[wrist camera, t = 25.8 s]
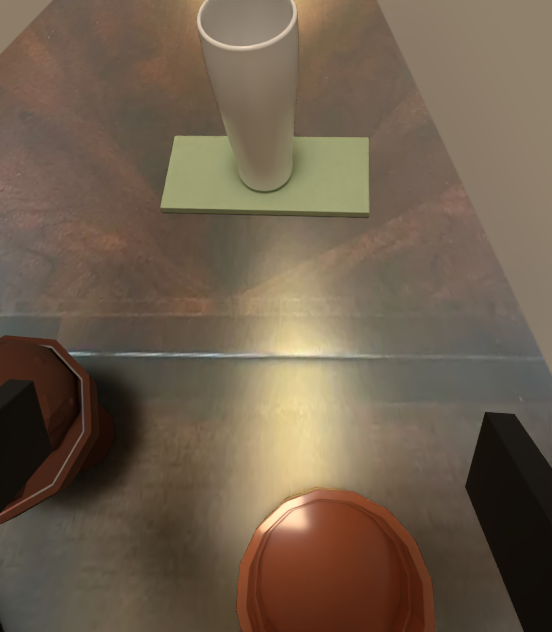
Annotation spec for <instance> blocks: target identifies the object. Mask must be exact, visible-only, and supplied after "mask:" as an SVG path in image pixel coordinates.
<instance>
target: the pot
mask: <svg viewBox="0 0 552 632" xmlns="http://www.w3.org/2000/svg"><path fill="white" fill-rule="evenodd" d="M236 612H237V616H238V620H239V624H240V628H241V632H435V612H434V594H433V583H432V579H431V577H430V575H429V572H428V570H427V567H426V565H425V562H424V560H423V557H422V555H421V552H420V550H419V548H418V545H417V543H416V541H415V539H414V538H413V537H412V536H411V535H410V534H409V533H408V532H407V530H406V529H405V528H404V527H403V526H402V525H401V524H400V523H399V521H398V520H397V519H396V518H395V517H394V516H393V515H392V513H391V512H390V511H389V510H387V509H386V508H384V507H382V506H380V505H378V504H376V503H374V502H373V501H371V500H369V499H367V498H365V497H363V496H361V495H359V494H357V493H355V492H353V491H349V490H346V489H337V488H324V487H314V488H311V489H308V490H306V491H303V492H300V493H297V494H295V495H292V496H289V497H287V498H286V499H285V500H284V501H283V502H282V503H280V504H279V505H278V506H277V507H276V508H275V509H274V510H273V511H272V512H271V513H270V514H269V515H268V516H267V517H266V518H265V519H264V520H263V521H262V522H261V523H260V525H259V526H258V527H257V528H256V530H255V533H254V535H253V537H252V539H251V541H250V543H249V546H248V548H247V550H246V552H245V554H244V556H243V559H242V561H241V563H240V568H239V579H238V590H237V601H236Z"/></svg>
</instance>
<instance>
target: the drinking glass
mask: <svg viewBox="0 0 552 632" xmlns="http://www.w3.org/2000/svg"><path fill="white" fill-rule="evenodd" d="M197 28H198V32H199V38H200V44H201V49H202V54H203V58H204V63H205V67H206V71H207V75H208V78H209V82H210V85H211V88H212V91H213V95H214V98H215V101H216V104H217V106H218V109H219V112H220V115H221V118H222V121H223V124H224V127H225V130H226V133H227V136H228V139H229V142H230V145H231V148H232V151H233V154H234V157H235V160H236V164H237V169H238V173H239V176H240V178H241V180H242V181H243V182H244V184H246V185H247V186H248V187H250V188H251V189H254V190H257V191H271V190H275V189H277V188H279V187H281V186H282V185H284V184H285V183H286V182H287V181H288V179H289V178H290V176H291V173H292V169H293V141H294V128H295V115H296V104H297V92H298V79H299V30H298V12H297V7H296V4H295V2H294V0H205V1H204V3H203V4H202V5H201V7H200V9H199V11H198V15H197Z"/></svg>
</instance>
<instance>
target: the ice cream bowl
mask: <svg viewBox="0 0 552 632" xmlns="http://www.w3.org/2000/svg"><path fill="white" fill-rule="evenodd" d="M9 379H17V380H32V381H33V382H34V385H35V389H36V393H37V396H38V400H39V404H40V407H41V411H42V415H43V419H44V422H45V426H46V430H47V433H48V437H49V441H50V444H51V448H52V453H51V454H50V455H49V456H48V458H47V459H46V460H45V461H44V462H43V463H42V465H41V466H40V467H39V468H38V469H37V471H36V472H35V473H34V474H33V475H32V476H31V478H30V479H29V480H28V481H27V482H26V484H25V485H24V486H23V487H22V488H21V489H20V491H19V492H18V493H17V494H16V495H15V497H14V498H13V499H12V500H11V501H10V503H9V504H8V505H7V506H6V507H5V508H4V510H3V511H2V512H1V513H0V524H2V523H4V522H6V521H9V520H11V519H13V518H15V517H17V516H19V515H20V514H22V513H24V512H26V511H27V510H29V509H31V508H32V507H34V506H36V505H38V504H39V503H41V502H43V501H45V500H46V499H48V498H50V497H51V496H53V495H55V494H57V493H58V492H60V491H62V490H64V489H65V488H67V487H69V485H70V484H71V483H72V481H73V480H74V478H75V476H76V474H77V473H78V472H84V471H86V470H88V469H90V468H91V467H93V466H95V465H97V464H98V463H100V462H102V461H103V460H104V458H105V456H106V455H107V453H108V451H109V449H110V447H111V446H112V444H113V442H114V440H115V438H114V422H113V418H112V416H111V415H110V414H109V413H108V412H107V411H106V410H105V409H104V408H103V407H102V406H101V405H100V404H97V387H96V382H95V381H94V380H93V379H92V378H91V377H90V376H89V375H88V373H87V372H86V371H85V370H84V369H83V368H82V367H81V366H80V365H79V364H78V363H77V362H76V361H75V360H74V359H73V358H72V356H71V355H70V354H69V353H68V352H67V351H66V350H65V349H64V348H63V347H62V346H61V345H60V344H59V343H58V342H57V341H56V340H52V339H41V338H30V337H18V336H7V335H5V336H3V337H1V338H0V386H1V385H2V384H4V383H5V382H6V381H7V380H9Z"/></svg>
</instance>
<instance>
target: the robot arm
mask: <svg viewBox="0 0 552 632" xmlns="http://www.w3.org/2000/svg"><path fill="white" fill-rule="evenodd" d="M51 453H52V448H51V444H50V441H49V437H48V433H47V430H46V426H45V422H44V419H43V415H42V411H41V407H40V404H39V400H38V396H37V393H36V389H35V385H34V382H33V381H32V380H17V379H9V380H7V381H6V382H5V383H4V384H2V385H1V386H0V513H1V512H2V511H3V510H4V508H5V507H6V506H7V505H8V504H9V503H10V501H11V500H12V499H13V498H14V497H15V495H16V494H17V493H18V492H19V491H20V489H21V488H22V487H23V486H24V485H25V484H26V482H27V481H28V480H29V479H30V478H31V476H32V475H33V474H34V473H35V472H36V471H37V469H38V468H39V467H40V466H41V465H42V463H43V462H44V461H45V460H46V459H47V458H48V456H49V455H50V454H51ZM465 488H466V490H467V493H468V495H469V498H470V500H471V503H472V505H473V507H474V510H475V512H476V515H477V517H478V520H479V522H480V525H481V527H482V530H483V532H484V535H485V537H486V540H487V542H488V544H489V547H490V549H491V552H492V554H493V557H494V559H495V562H496V564H497V567H498V569H499V572H500V574H501V577H502V579H503V582H504V584H505V586H506V589H507V591H508V594H509V596H510V599H511V601H512V604H513V606H514V609H515V611H516V614H517V616H518V619H519V621H520V623H521V626H522V628H523V631H524V632H552V468H551V467H550V465H549V464H548V462H547V461H546V459H545V458H544V456H543V455H542V453H541V452H540V451H539V449H538V448H537V446H536V445H535V443H534V442H533V440H532V439H531V437H530V436H529V435H528V433H527V432H526V430H525V429H524V427H523V426H522V424H521V423H520V421H519V420H518V418H517V417H516V416H515V414H507V413H492V412H485V415H484V418H483V422H482V426H481V430H480V433H479V437H478V441H477V445H476V448H475V452H474V456H473V459H472V463H471V467H470V471H469V474H468V478H467V482H466V486H465Z"/></svg>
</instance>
